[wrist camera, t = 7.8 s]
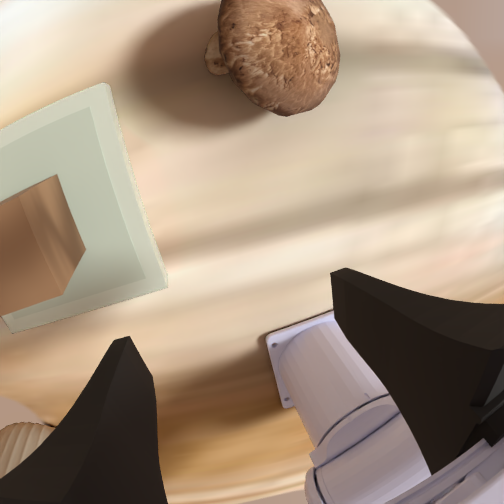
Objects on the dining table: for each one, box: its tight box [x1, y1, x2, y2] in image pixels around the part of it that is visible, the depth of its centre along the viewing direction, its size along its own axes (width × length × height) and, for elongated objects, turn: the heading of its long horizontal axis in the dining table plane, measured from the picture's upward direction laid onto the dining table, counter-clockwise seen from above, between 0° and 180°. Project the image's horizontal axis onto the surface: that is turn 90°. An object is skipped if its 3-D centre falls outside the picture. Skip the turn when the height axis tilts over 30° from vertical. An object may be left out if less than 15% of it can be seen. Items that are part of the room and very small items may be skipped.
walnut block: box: [0, 174, 86, 317], centre depth 13 cm, size 4×4×5 cm
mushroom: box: [204, 0, 340, 117], centre depth 14 cm, size 8×8×6 cm
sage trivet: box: [0, 82, 168, 334], centre depth 16 cm, size 12×12×2 cm
